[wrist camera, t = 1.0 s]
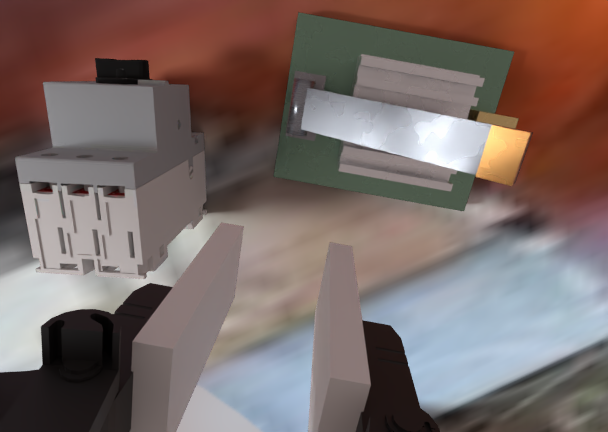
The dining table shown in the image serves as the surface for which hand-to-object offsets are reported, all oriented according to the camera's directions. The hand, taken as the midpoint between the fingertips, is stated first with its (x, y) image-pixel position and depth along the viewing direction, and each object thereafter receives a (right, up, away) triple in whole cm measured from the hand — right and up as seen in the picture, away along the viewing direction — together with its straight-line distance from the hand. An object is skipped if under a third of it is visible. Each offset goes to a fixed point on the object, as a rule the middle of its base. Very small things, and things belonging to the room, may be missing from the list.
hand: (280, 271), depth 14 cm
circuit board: (+8, +11, +24) cm, 28 cm away
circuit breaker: (-13, +9, +26) cm, 30 cm away
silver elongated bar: (+7, +8, +14) cm, 17 cm away
